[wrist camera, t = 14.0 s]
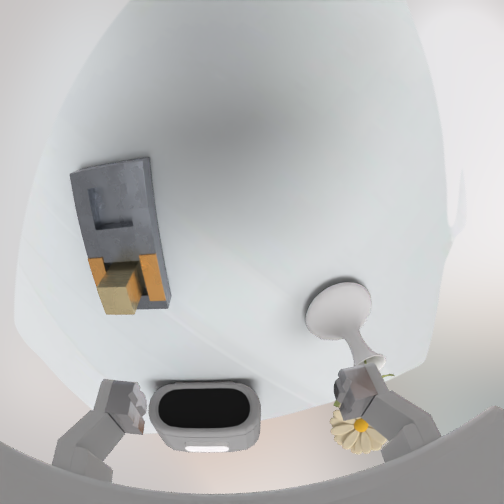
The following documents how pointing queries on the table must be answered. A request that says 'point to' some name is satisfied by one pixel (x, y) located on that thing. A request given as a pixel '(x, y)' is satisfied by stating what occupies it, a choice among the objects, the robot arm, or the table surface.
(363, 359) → the flower in vase
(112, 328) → the table surface
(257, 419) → the alarm clock
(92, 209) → the rail
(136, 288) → the brass block
